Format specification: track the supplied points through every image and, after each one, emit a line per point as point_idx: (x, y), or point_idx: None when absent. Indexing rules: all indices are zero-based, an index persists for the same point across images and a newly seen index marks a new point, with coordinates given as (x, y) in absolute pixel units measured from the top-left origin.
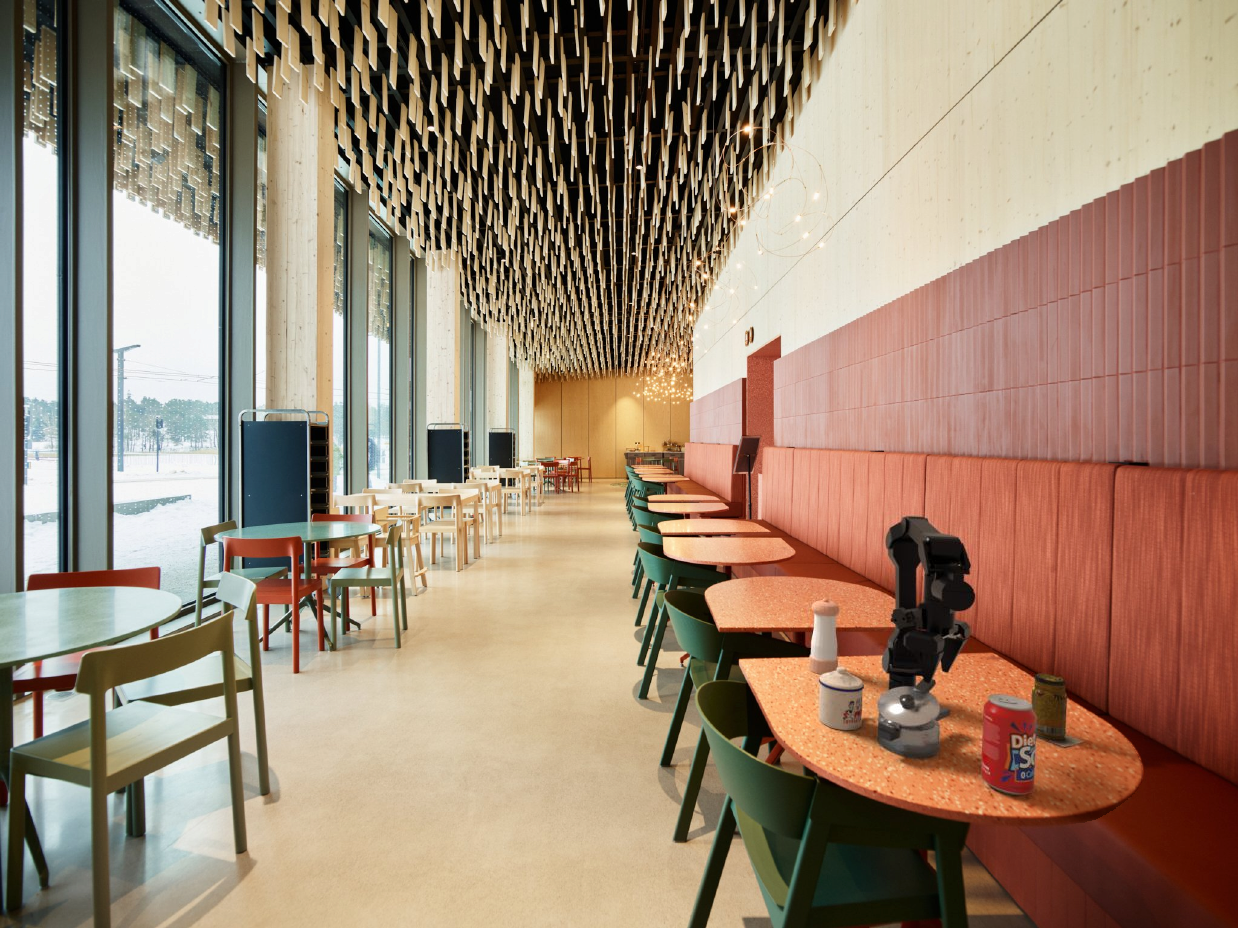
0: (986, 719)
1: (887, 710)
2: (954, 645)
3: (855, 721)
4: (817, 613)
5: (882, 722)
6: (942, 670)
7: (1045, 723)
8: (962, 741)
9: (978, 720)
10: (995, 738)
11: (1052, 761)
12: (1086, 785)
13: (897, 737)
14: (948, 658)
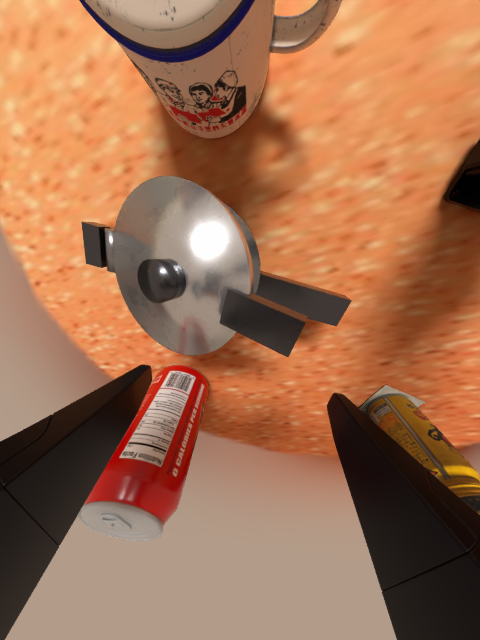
0: None
1: (133, 227)
2: (418, 633)
3: (182, 122)
4: None
5: (91, 231)
6: (334, 395)
7: (380, 425)
8: None
9: (404, 336)
10: None
11: (292, 410)
12: (250, 429)
13: None
14: (360, 475)
